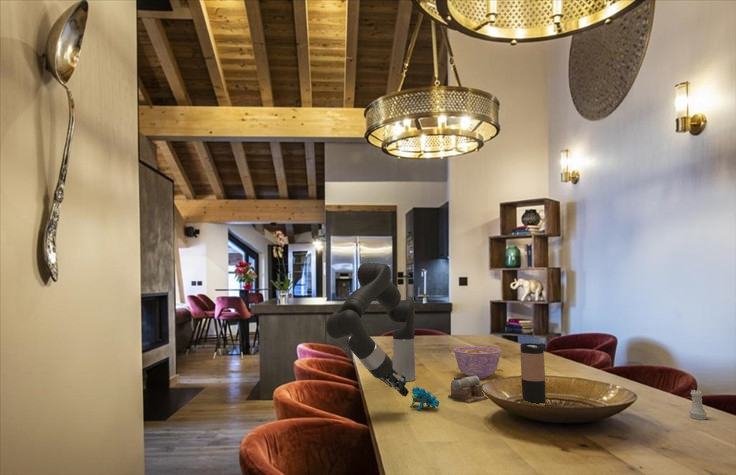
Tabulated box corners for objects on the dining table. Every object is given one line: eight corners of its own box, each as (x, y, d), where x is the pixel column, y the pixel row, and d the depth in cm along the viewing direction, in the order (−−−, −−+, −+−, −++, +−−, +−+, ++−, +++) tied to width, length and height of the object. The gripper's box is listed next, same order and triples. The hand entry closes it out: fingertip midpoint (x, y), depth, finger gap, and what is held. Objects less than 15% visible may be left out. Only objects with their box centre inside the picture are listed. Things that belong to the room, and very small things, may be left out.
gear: (446, 405, 155) (427, 385, 152) (438, 420, 151) (418, 401, 149) (424, 402, 164) (406, 384, 161) (416, 417, 161) (397, 398, 158)
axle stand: (466, 404, 161) (465, 379, 162) (445, 398, 169) (444, 375, 170) (488, 398, 168) (487, 375, 169) (467, 393, 176) (466, 371, 177)
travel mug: (528, 400, 165) (526, 342, 166) (550, 404, 159) (547, 344, 161) (518, 405, 159) (515, 345, 161) (539, 409, 154) (537, 347, 156)
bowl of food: (465, 370, 219) (465, 345, 220) (508, 375, 207) (507, 348, 208) (446, 378, 203) (445, 350, 204) (491, 384, 191) (490, 354, 192)
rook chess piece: (704, 416, 144) (702, 389, 145) (709, 420, 140) (707, 393, 141) (687, 415, 146) (685, 388, 146) (691, 419, 142) (690, 392, 142)
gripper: (394, 352, 143) (425, 388, 149) (369, 347, 154) (399, 381, 160) (381, 372, 140) (413, 408, 146) (355, 366, 150) (386, 399, 156)
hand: (405, 393), depth 153 cm, fingers closed
